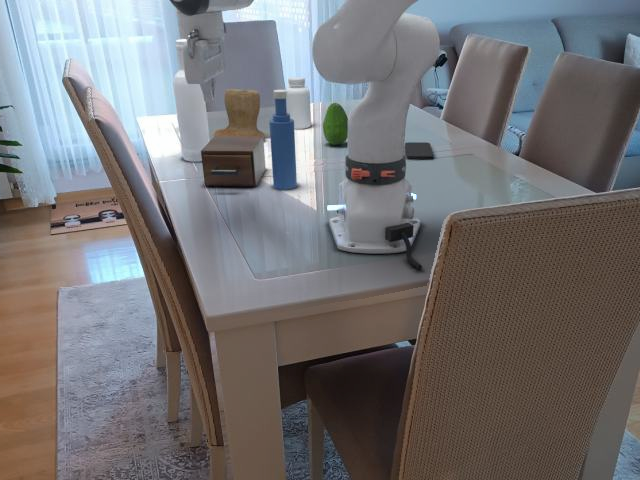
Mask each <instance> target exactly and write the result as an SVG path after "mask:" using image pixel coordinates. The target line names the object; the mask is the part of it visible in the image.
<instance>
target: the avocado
mask: <svg viewBox="0 0 640 480" xmlns="http://www.w3.org/2000/svg"><path fill="white" fill-rule="evenodd" d="M322 132H323V136H324V138H325V141H326V142H327V143H328V144H330V145H332V146H338V145H339V146H340V145H342V144H344V143H345V142H346V141H347V140H348V114H347V112H346V110H345V109H344V108H343V106H342V105H341V104H340V103H338V102H332V103H330V104H329V106H328V107H327V109H326V113H325V116H324V119H323V123H322Z"/></svg>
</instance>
